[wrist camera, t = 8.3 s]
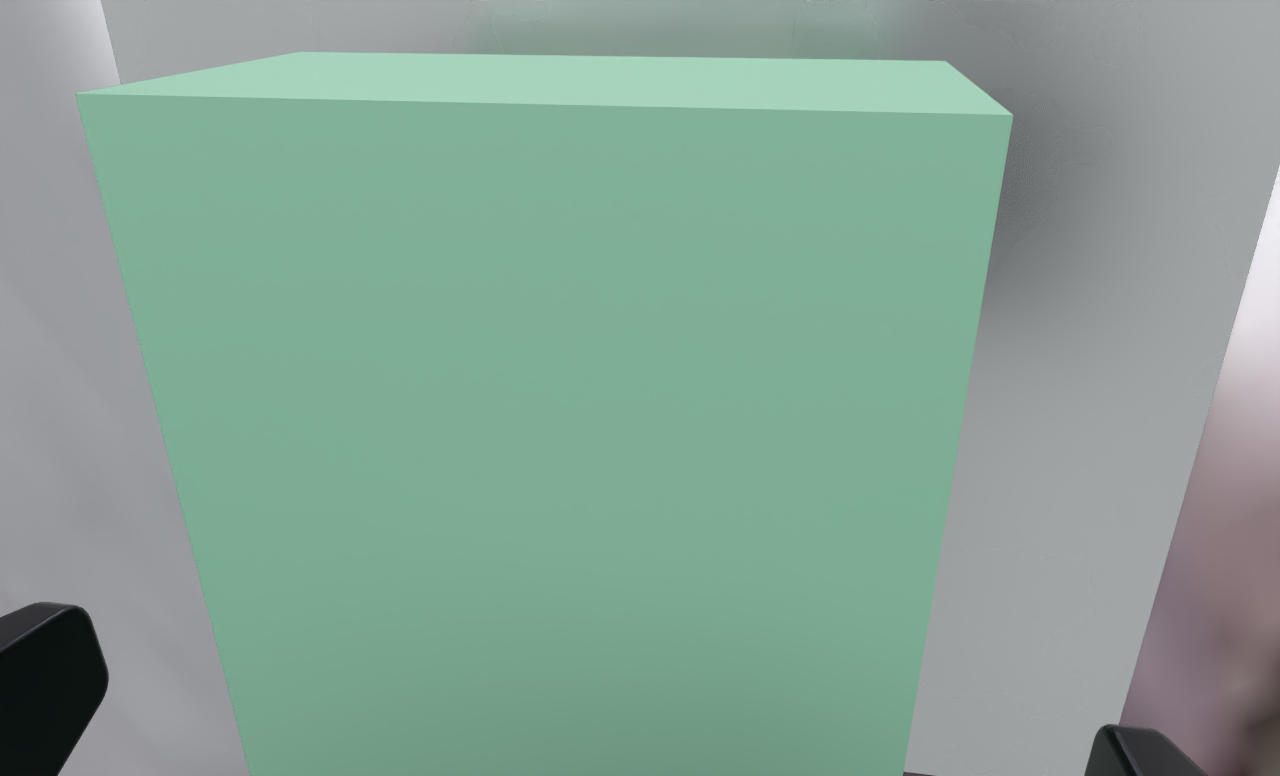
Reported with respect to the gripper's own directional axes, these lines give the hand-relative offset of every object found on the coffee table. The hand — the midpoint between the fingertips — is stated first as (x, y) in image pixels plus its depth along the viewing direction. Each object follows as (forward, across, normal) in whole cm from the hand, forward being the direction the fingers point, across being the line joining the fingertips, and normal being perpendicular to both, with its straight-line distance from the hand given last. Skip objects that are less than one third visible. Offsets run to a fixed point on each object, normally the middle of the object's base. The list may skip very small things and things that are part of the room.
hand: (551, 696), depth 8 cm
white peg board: (+6, 0, 0) cm, 6 cm away
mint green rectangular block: (+3, 0, 0) cm, 3 cm away
